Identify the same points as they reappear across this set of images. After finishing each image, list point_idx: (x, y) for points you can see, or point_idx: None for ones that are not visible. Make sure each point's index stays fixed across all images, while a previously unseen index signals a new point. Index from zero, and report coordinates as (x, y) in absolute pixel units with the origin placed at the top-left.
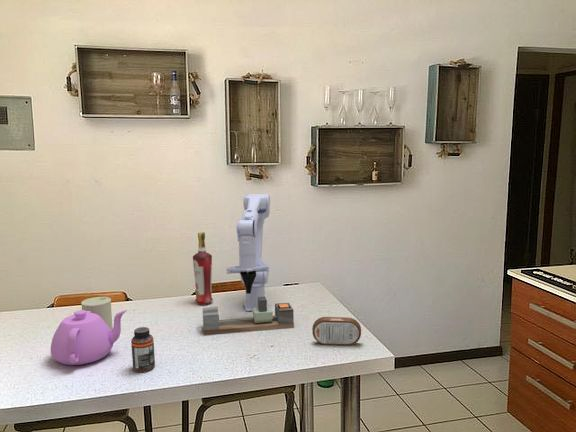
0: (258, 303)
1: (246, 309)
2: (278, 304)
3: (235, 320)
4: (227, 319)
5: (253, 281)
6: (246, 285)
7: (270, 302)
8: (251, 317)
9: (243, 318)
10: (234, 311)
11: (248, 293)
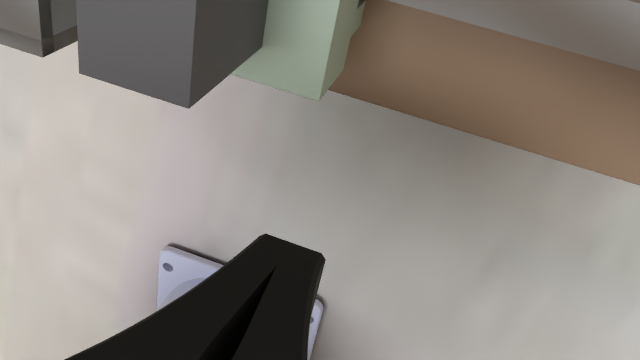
0: (233, 4)
1: (314, 318)
2: (4, 4)
3: (612, 5)
4: (612, 171)
5: (79, 353)
6: (280, 355)
7: None
8: (355, 93)
9: (484, 23)
10: (407, 353)
11: (297, 246)
